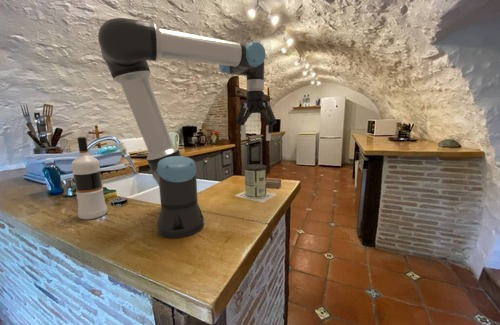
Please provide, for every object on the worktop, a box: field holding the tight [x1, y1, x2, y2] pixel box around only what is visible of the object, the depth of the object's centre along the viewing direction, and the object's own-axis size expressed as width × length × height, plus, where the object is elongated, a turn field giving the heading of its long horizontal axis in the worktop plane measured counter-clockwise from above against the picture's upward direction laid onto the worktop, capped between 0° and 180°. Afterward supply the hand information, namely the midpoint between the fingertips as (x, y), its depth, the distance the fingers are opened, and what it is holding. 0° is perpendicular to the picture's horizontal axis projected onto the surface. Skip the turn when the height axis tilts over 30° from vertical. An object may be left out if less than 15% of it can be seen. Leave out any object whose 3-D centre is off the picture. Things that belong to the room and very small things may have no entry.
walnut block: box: [266, 177, 282, 190], centre depth 118 cm, size 8×8×4 cm
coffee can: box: [244, 163, 267, 198], centre depth 103 cm, size 10×10×14 cm
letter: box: [234, 190, 278, 203], centre depth 104 cm, size 13×16×1 cm
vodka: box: [70, 136, 109, 221], centre depth 81 cm, size 9×9×30 cm
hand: (255, 139), depth 99 cm, fingers open, 13 cm apart
